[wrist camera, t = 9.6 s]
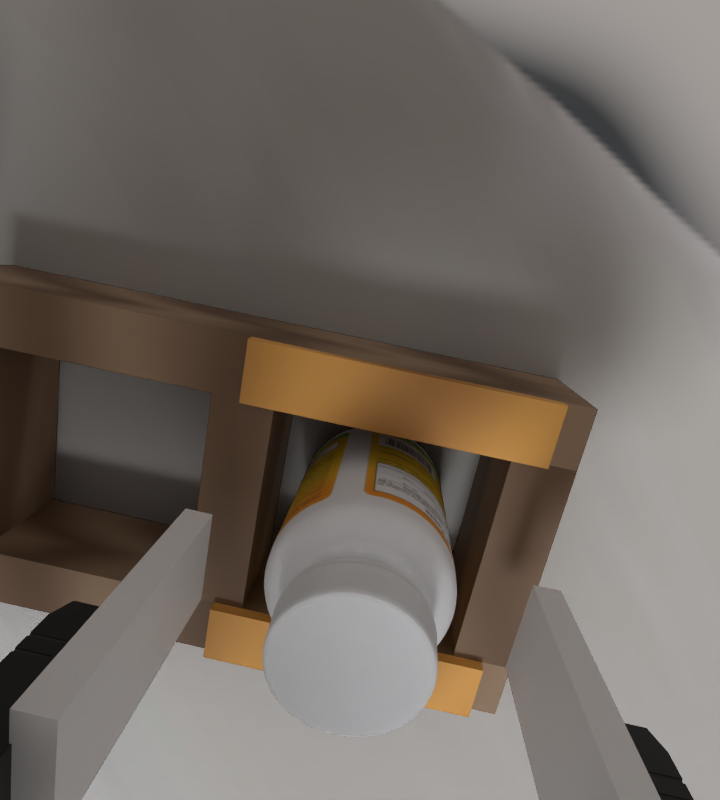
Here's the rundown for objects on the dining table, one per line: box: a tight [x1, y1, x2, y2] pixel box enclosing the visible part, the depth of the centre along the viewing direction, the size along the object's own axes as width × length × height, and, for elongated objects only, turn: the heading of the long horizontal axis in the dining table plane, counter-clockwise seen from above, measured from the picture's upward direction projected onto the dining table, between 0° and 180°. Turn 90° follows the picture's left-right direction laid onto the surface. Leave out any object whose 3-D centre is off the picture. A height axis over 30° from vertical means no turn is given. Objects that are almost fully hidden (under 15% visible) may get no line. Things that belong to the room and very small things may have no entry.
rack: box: [0, 265, 598, 717], centre depth 19 cm, size 21×12×4 cm, turn 79°
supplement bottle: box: [263, 428, 457, 737], centre depth 16 cm, size 5×5×10 cm
